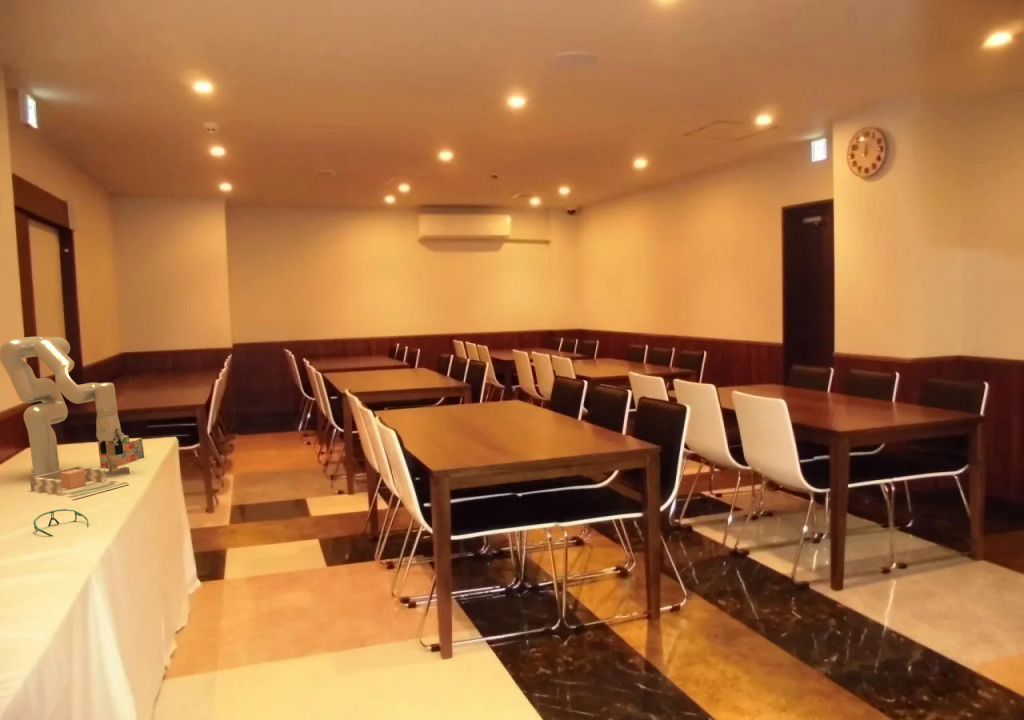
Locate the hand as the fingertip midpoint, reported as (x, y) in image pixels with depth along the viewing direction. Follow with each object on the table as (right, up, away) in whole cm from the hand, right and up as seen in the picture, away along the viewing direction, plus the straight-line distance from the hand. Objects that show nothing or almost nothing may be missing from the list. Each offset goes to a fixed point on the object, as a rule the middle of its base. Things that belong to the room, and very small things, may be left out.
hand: (112, 453), depth 311 cm
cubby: (-4, -12, -17) cm, 21 cm away
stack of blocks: (-11, -8, +30) cm, 33 cm away
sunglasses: (+20, -16, -69) cm, 74 cm away
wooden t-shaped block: (0, -10, +1) cm, 10 cm away
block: (-7, -11, -16) cm, 20 cm away
